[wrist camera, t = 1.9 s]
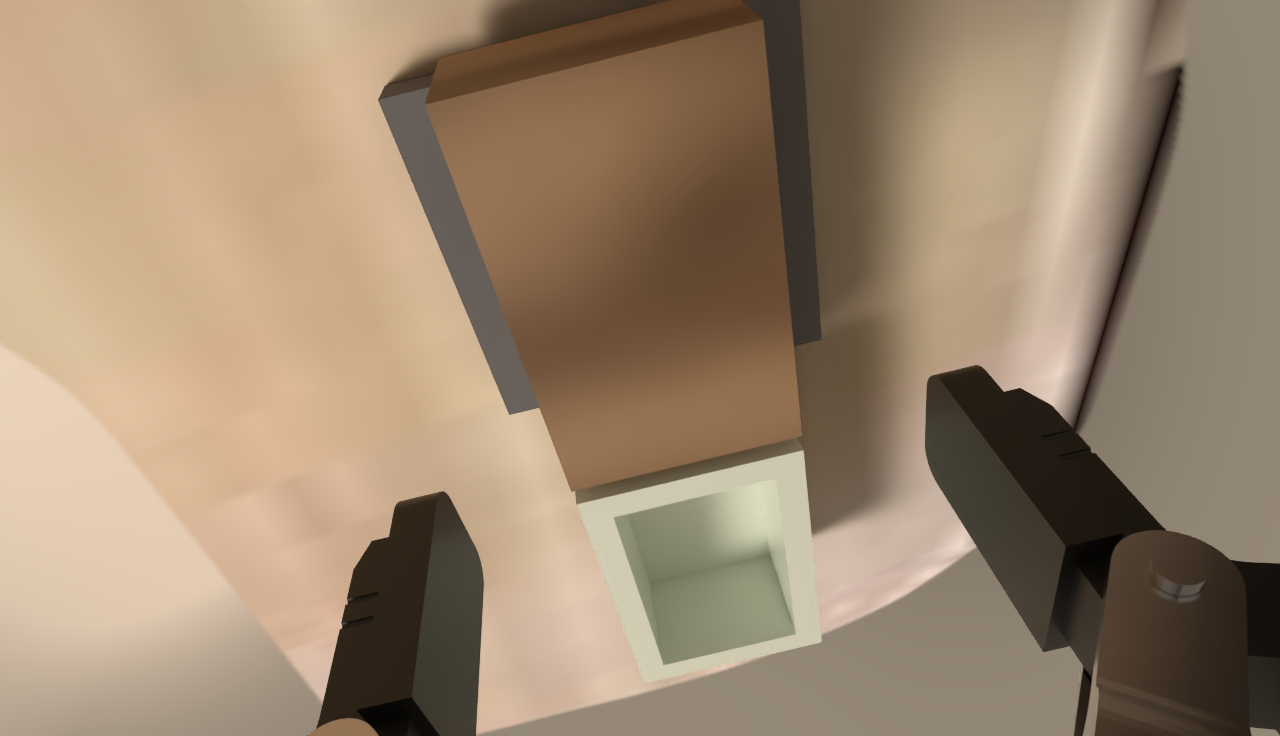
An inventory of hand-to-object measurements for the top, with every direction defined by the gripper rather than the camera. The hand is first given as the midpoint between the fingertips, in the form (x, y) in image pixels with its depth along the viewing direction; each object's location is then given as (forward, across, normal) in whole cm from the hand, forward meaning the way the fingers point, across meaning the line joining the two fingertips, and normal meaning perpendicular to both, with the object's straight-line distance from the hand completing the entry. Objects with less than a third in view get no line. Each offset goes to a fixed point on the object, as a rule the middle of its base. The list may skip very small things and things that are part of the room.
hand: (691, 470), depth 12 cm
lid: (+8, 0, 0) cm, 8 cm away
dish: (+9, 0, +10) cm, 13 cm away
